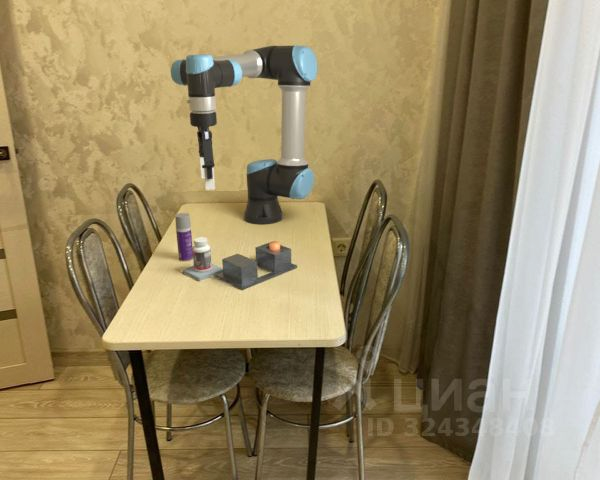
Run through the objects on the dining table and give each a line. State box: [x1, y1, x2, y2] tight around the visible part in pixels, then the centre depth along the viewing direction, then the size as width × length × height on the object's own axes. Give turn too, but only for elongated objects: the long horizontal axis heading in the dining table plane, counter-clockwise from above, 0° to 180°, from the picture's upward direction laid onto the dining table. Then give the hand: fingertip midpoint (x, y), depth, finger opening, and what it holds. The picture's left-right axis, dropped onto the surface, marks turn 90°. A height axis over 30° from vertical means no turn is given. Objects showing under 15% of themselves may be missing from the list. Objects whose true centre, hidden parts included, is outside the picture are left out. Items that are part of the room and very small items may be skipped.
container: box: [174, 212, 193, 262], centre depth 175 cm, size 5×5×15 cm
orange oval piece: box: [268, 240, 281, 251], centre depth 171 cm, size 3×3×5 cm
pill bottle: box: [192, 237, 213, 272], centre depth 166 cm, size 5×5×10 cm
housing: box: [214, 242, 298, 291], centre depth 166 cm, size 22×13×6 cm, turn 135°
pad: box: [182, 263, 223, 282], centre depth 168 cm, size 9×9×1 cm
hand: (208, 183), depth 163 cm, fingers open, 13 cm apart
